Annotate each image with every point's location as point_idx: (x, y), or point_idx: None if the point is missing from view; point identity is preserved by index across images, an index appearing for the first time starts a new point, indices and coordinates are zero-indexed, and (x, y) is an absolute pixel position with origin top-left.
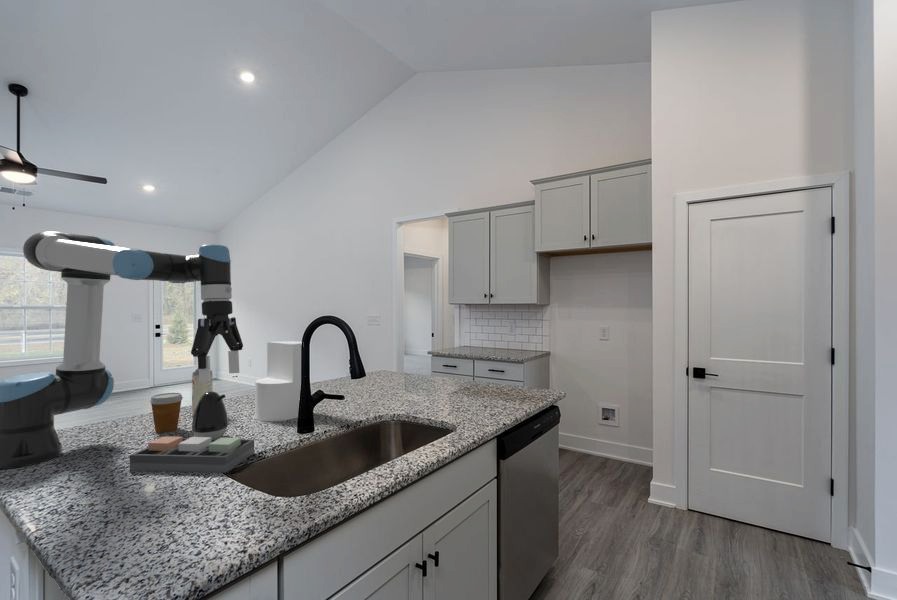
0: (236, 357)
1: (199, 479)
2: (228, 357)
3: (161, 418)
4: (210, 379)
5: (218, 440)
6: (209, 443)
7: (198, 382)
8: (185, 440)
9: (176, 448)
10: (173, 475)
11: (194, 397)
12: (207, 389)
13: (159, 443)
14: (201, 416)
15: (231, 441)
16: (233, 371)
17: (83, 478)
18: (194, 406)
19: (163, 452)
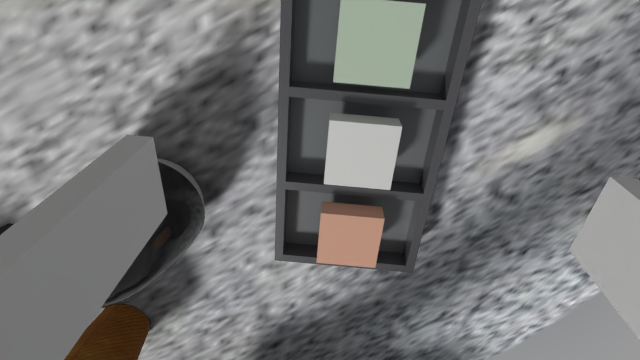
0: (42, 254)
1: (506, 42)
2: (73, 344)
3: (133, 352)
4: (624, 182)
5: (369, 74)
6: (341, 115)
7: None
8: (360, 185)
9: (370, 193)
10: (457, 133)
11: None
12: None
13: (380, 240)
14: (179, 240)
15: (386, 13)
16: (153, 187)
17: (438, 300)
18: None
19: None
